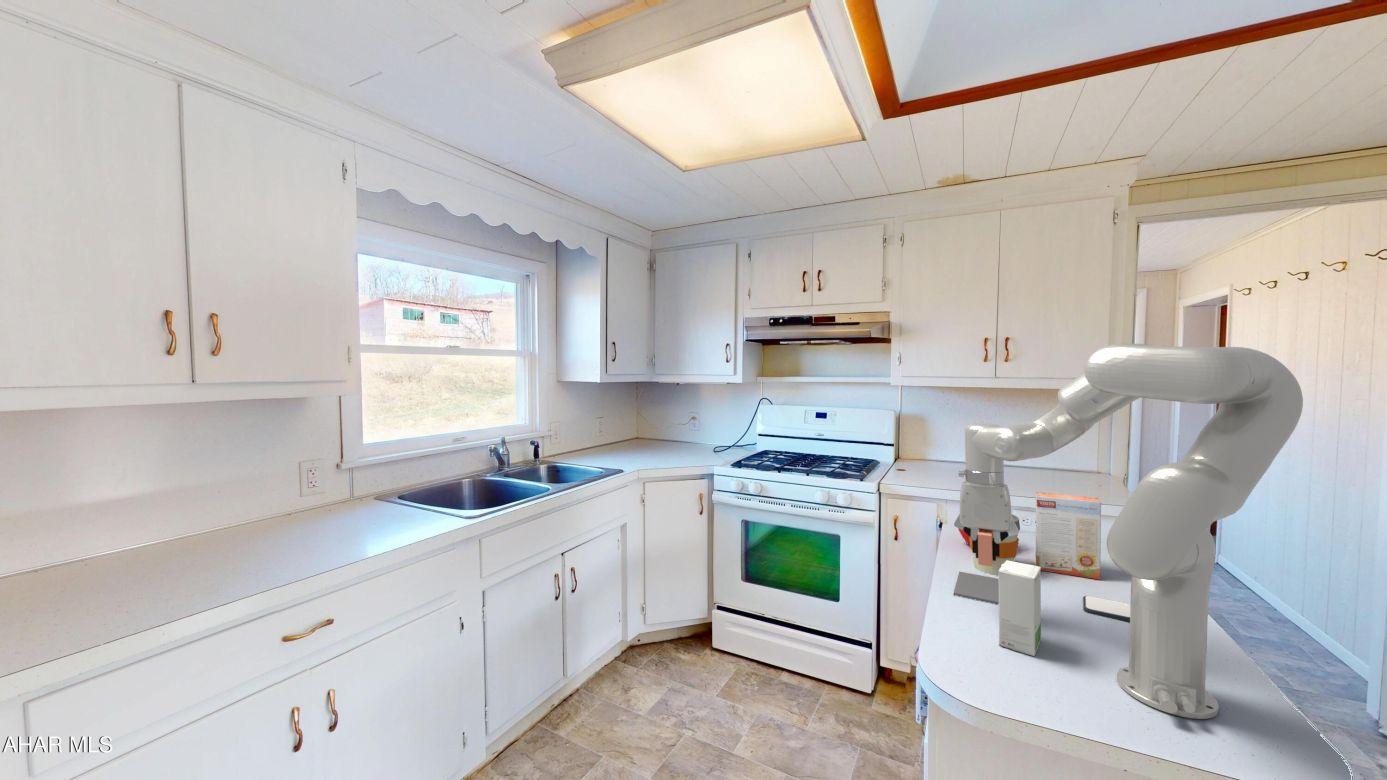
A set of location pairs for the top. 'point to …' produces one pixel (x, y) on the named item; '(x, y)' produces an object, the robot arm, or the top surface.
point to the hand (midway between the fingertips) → (986, 556)
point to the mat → (977, 587)
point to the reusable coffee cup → (1006, 552)
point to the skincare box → (1020, 607)
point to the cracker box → (1068, 534)
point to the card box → (985, 547)
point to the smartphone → (1107, 608)
